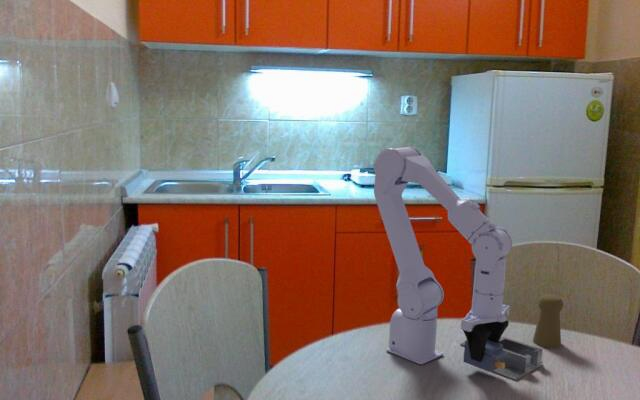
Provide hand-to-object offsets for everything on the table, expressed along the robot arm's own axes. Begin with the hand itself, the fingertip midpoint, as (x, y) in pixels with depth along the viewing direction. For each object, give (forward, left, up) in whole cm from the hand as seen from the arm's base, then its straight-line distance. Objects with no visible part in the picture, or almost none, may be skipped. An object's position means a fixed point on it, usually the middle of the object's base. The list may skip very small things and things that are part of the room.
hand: (482, 356), depth 121 cm
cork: (+1, +26, -4) cm, 26 cm away
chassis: (+1, +8, -3) cm, 9 cm away
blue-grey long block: (0, 0, -2) cm, 2 cm away
